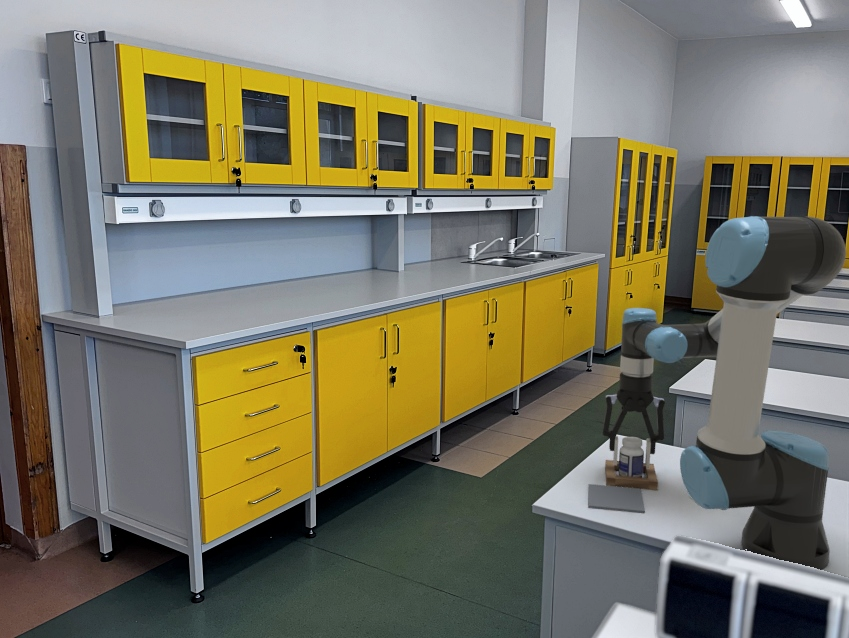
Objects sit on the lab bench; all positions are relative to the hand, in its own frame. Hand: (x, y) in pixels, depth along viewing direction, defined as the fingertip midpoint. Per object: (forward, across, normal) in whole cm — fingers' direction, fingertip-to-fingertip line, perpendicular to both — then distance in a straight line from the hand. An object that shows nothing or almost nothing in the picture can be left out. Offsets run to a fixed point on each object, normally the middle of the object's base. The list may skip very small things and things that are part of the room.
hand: (631, 464), depth 169 cm
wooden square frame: (+4, 0, 0) cm, 4 cm away
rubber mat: (+4, +4, +13) cm, 14 cm away
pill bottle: (+4, 0, 0) cm, 4 cm away
